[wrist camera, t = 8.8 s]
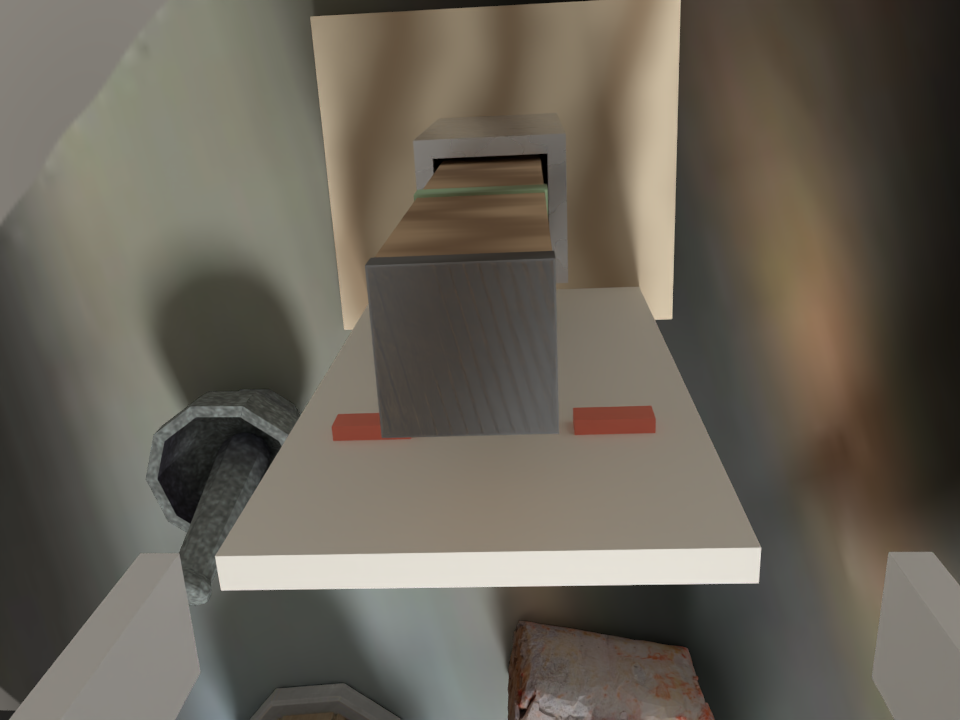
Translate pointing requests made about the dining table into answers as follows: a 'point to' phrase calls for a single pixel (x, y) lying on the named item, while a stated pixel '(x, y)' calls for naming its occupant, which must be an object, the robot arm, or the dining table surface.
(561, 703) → the food item
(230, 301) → the dining table surface
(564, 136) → the metal sleeve
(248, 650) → the dining table surface
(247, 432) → the mortar and pestle
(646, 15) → the birch base plate
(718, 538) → the board
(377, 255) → the oak post
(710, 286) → the dining table surface
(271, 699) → the tankard
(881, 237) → the dining table surface
